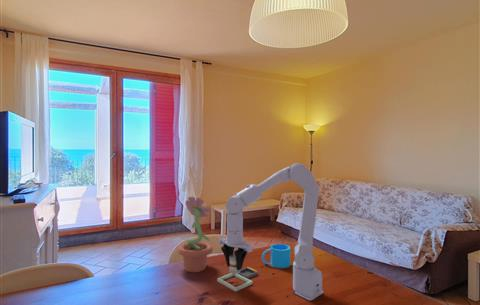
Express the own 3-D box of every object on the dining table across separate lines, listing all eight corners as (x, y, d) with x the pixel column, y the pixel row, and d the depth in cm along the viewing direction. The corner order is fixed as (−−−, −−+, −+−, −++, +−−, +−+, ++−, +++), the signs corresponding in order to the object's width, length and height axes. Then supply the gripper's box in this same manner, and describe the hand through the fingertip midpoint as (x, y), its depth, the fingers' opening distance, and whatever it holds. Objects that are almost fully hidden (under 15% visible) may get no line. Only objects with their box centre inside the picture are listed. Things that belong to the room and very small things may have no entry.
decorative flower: (221, 267, 116) (221, 195, 115) (201, 281, 103) (202, 200, 103) (192, 260, 122) (192, 192, 122) (170, 272, 110) (171, 197, 110)
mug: (288, 262, 121) (288, 243, 121) (292, 270, 113) (292, 250, 113) (260, 262, 121) (260, 244, 121) (262, 270, 113) (263, 250, 113)
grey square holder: (257, 277, 107) (257, 271, 107) (246, 282, 103) (246, 275, 103) (247, 272, 111) (247, 266, 111) (235, 276, 107) (235, 270, 107)
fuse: (242, 271, 101) (242, 255, 101) (235, 274, 97) (235, 259, 97) (233, 268, 103) (234, 253, 103) (226, 271, 100) (227, 256, 100)
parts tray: (252, 286, 99) (252, 281, 99) (235, 294, 94) (235, 288, 94) (233, 277, 106) (233, 272, 106) (217, 283, 101) (217, 278, 101)
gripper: (257, 230, 99) (257, 269, 99) (227, 224, 108) (227, 259, 108) (245, 235, 93) (245, 276, 93) (214, 227, 102) (214, 264, 102)
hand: (234, 267), depth 100 cm, fingers closed on fuse, 4 cm apart
